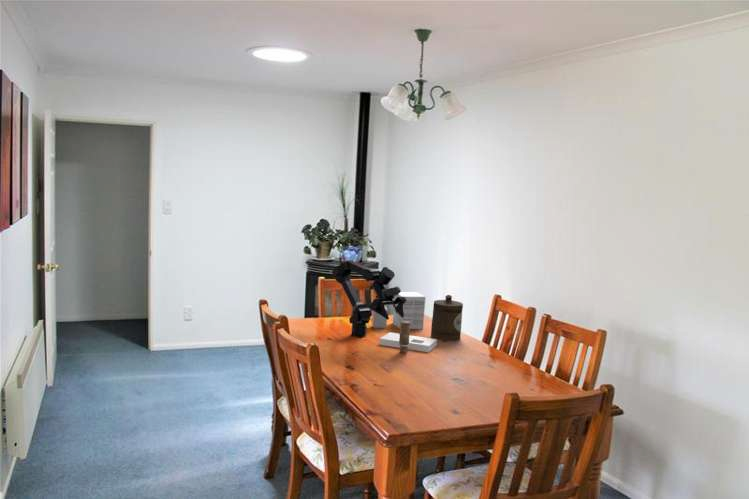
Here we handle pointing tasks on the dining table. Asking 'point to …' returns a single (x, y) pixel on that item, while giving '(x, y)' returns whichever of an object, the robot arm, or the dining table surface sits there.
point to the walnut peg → (404, 336)
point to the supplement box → (411, 310)
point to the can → (379, 320)
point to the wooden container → (446, 319)
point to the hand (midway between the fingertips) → (395, 318)
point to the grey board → (414, 342)
